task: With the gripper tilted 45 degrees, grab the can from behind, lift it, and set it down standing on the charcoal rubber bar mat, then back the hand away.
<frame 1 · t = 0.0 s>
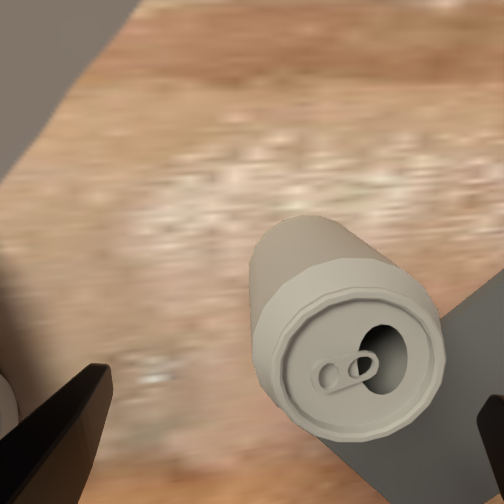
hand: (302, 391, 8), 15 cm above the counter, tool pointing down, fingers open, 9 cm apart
bar mat: (484, 396, 27), on the counter
can: (303, 267, 24), on the counter
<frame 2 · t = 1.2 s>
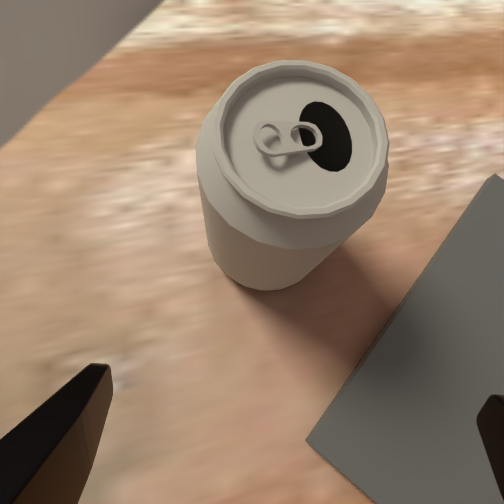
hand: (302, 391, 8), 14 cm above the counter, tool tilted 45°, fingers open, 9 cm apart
can: (264, 237, 24), on the counter
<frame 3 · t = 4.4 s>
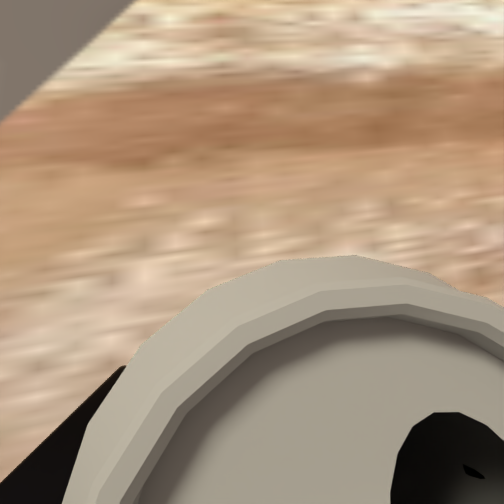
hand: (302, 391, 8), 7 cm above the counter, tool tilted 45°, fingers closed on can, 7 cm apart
can: (266, 408, 15), on the counter, touching gripper
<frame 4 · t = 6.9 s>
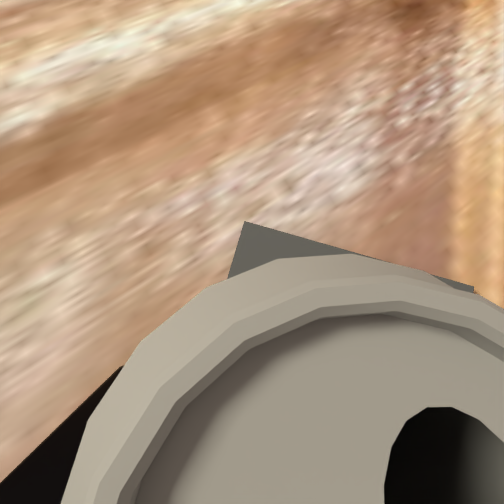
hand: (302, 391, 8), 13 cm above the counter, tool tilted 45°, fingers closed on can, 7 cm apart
bar mat: (318, 436, 20), on the counter
can: (265, 406, 15), point 6 cm above the counter, touching gripper
when the fingers open (8 cm above the counter, at t = 9.4 s): can stays where it is, resting on bar mat.
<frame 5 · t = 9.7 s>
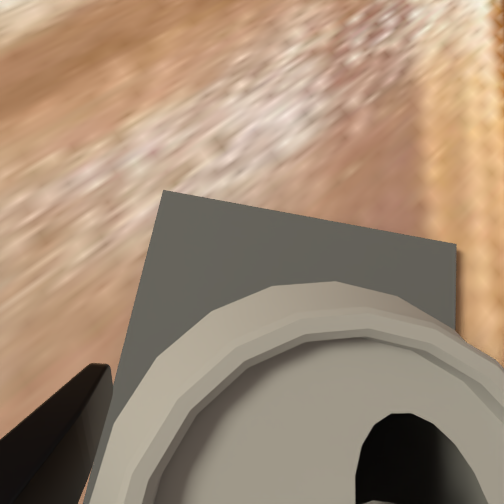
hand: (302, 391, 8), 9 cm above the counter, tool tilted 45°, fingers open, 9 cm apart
bar mat: (277, 454, 16), on the counter
can: (263, 409, 16), point 1 cm above the counter, touching bar mat
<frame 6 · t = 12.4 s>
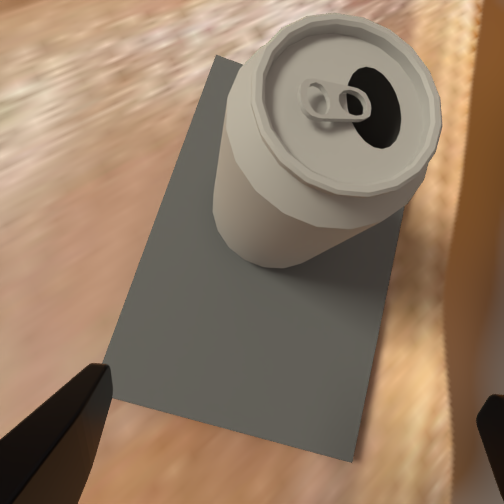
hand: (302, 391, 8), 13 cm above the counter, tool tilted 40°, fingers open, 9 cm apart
bar mat: (276, 245, 23), on the counter
can: (271, 212, 23), point 1 cm above the counter, touching bar mat
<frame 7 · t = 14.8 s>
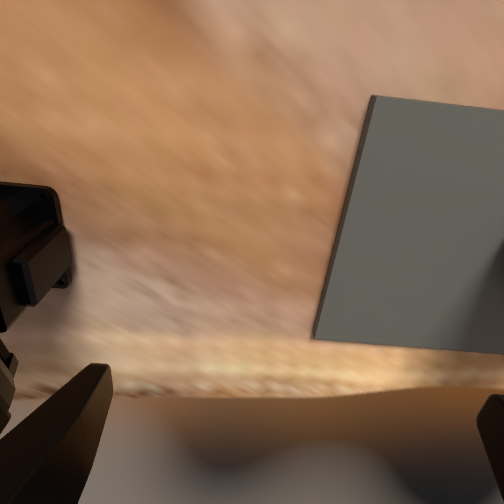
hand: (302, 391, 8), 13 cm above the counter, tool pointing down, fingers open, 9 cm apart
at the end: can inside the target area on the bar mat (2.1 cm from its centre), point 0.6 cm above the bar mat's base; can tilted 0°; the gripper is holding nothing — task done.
